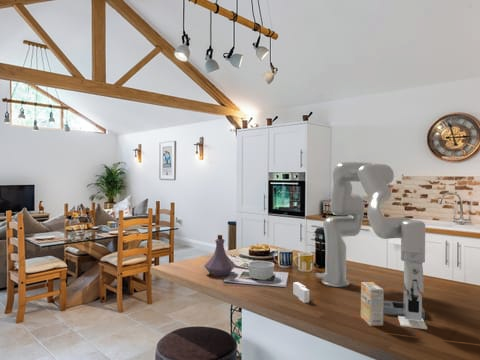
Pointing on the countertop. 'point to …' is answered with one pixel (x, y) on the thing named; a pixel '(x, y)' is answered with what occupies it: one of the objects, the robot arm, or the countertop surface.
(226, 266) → the flask
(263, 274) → the ramekin
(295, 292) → the white double box
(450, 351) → the countertop surface
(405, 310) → the grey rectangular block
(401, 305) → the grey recessed block
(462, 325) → the countertop surface
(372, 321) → the supplement box
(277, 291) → the countertop surface
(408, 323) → the coaster
